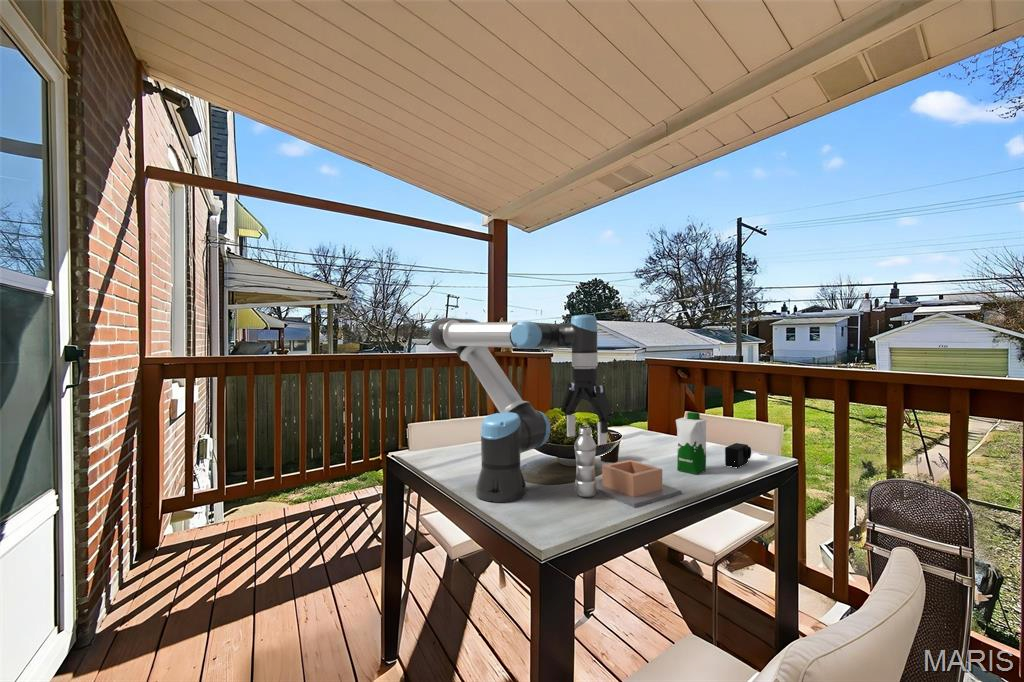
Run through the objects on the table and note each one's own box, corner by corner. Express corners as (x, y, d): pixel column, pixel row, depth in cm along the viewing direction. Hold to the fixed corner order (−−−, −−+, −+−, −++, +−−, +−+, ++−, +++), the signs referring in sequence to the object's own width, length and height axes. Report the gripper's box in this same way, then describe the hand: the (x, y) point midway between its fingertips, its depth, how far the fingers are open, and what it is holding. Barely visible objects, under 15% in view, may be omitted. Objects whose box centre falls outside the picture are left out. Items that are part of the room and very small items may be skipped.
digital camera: (741, 469, 151) (740, 449, 151) (725, 466, 155) (724, 447, 155) (751, 463, 158) (751, 445, 158) (736, 461, 162) (735, 442, 162)
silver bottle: (600, 494, 127) (599, 426, 127) (592, 501, 121) (591, 430, 121) (579, 490, 130) (579, 424, 130) (570, 497, 124) (570, 428, 124)
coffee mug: (615, 464, 158) (614, 437, 158) (593, 461, 163) (593, 434, 163) (627, 458, 167) (627, 432, 167) (606, 454, 172) (606, 430, 172)
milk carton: (709, 470, 150) (708, 413, 150) (698, 476, 144) (697, 416, 144) (685, 465, 156) (684, 410, 156) (673, 470, 150) (672, 413, 150)
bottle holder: (634, 507, 116) (634, 481, 116) (584, 487, 133) (584, 464, 133) (681, 493, 127) (681, 470, 127) (630, 476, 144) (629, 455, 144)
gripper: (625, 368, 117) (627, 446, 117) (567, 366, 138) (568, 431, 138) (605, 369, 113) (607, 450, 113) (549, 367, 135) (550, 434, 134)
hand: (586, 440), depth 125 cm, fingers open, 13 cm apart
